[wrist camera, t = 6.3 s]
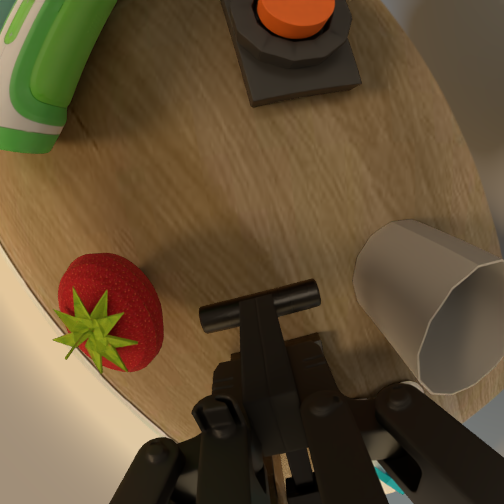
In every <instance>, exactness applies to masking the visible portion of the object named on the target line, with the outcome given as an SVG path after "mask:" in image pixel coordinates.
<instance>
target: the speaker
mask: <svg viewBox="0 0 504 504" xmlns="http://www.w3.org/2000/svg"><path fill="white" fill-rule="evenodd" d="M116 2H117V0H16V1H15V3H14V5H13V7H12V9H11V11H10V12H9V14H8V16H7V18H6V20H5V22H4V24H3V27H2V29H1V31H0V150H6V151H13V152H20V153H33V154H42V153H48V152H50V151H51V149H52V147H53V146H54V144H55V142H56V140H57V139H58V137H59V135H60V133H61V131H62V129H63V127H64V125H65V123H66V120H67V106H68V105H69V104H70V102H71V100H72V97H73V94H74V92H75V89H76V86H77V84H78V81H79V79H80V76H81V74H82V71H83V69H84V67H85V64H86V62H87V60H88V57H89V55H90V53H91V51H92V49H93V47H94V44H95V42H96V40H97V38H98V36H99V34H100V32H101V30H102V28H103V26H104V24H105V22H106V20H107V18H108V17H109V15H110V13H111V11H112V9H113V8H114V6H115V4H116Z"/></svg>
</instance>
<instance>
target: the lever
mask: <svg viewBox="0 0 504 504" xmlns="http://www.w3.org/2000/svg"><path fill="white" fill-rule="evenodd" d="M268 294H272V297H273V301H274V305H275V309H276V313H277V316H278V317H280V316H283V315H287V314H291V313H295V312H299V311H302V310H306V309H310V308H313V307H317V306H320V305H321V298H320V293H319V289H318V286H317V283H316V281H315V280H314V279H308V280H305V281H301V282H297V283H293V284H289V285H286V286H282V287H278V288H274V289H270V290H266V291H262V292H258V293H255V294H251V295H247V296H243V297H238V298H234V299H230V300H226V301H222V302H218V303H214V304H210V305H205V306H201V307H200V308H199V318H200V322H201V325H202V328H203V330H204V332H205V333H207V334H208V333H213V332H217V331H222V330H226V329H230V328H235V327H239V326H240V320H239V302H240V301H244V300H248V299H252V298H256V297H260V296H264V295H268ZM286 456H287V459H288V463H289V467H290V470H291V474H292V477H290V478H286V499H287V502H288V504H322V501H321V497H320V493H319V488H318V484H317V480H316V476H315V472H312V468H311V464H310V460H309V456H308V452H307V448H304V449H300V450H296V451H291V452H287V453H286Z"/></svg>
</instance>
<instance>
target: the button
mask: <svg viewBox="0 0 504 504" xmlns="http://www.w3.org/2000/svg"><path fill="white" fill-rule="evenodd" d="M334 8H335V0H258V5H257V12H258V16H259V18H260V20H261V22H262V23H263V25H264V26H265V27H266V28H267V29H269V30H270V31H271V32H273V33H275V34H277V35H279V36H282V37H285V38H290V39H303V38H307V37H311V36H313V35H315V34H316V33H318V32H319V31H320V30H321V29H322V27H323V26H324V25H325V23H326V22H327V20H328V19H329V18H330V16H331V15H332V13H333V11H334Z"/></svg>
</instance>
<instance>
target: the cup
mask: <svg viewBox="0 0 504 504" xmlns="http://www.w3.org/2000/svg"><path fill="white" fill-rule="evenodd" d="M353 285H354V289H355V293H356V297H357V301H358V303H359V304H360V306H361V307H362V308H363V309H364V311H365V312H366V313H367V314H368V316H369V317H370V318H371V319H372V321H373V322H374V323H375V325H376V326H377V327H378V328H379V330H380V331H381V332H382V334H383V335H384V336H385V337H386V339H387V340H388V341H389V343H390V344H391V345H392V347H393V348H394V349H395V350H396V352H397V353H398V354H399V356H400V357H401V358H402V360H403V361H404V362H405V364H406V365H407V366H408V368H409V369H410V370H411V372H412V373H413V374H414V376H415V377H416V378H417V380H418V381H419V382H420V383H421V384H422V385H423V386H424V387H425V388H426V389H427V390H428V391H429V392H430V393H431V394H434V395H453V394H456V393H458V392H460V391H463V390H465V389H467V388H469V387H472V386H474V385H475V384H476V383H478V382H479V381H480V380H481V379H482V378H483V377H485V376H486V375H487V374H488V373H489V372H490V371H492V370H493V369H494V368H495V367H496V366H497V364H498V363H499V362H500V360H501V359H502V357H503V356H504V260H503V259H501V258H499V257H497V256H495V255H493V254H491V253H489V252H487V251H485V250H482V249H480V248H478V247H476V246H474V245H472V244H469V243H467V242H465V241H463V240H460V239H458V238H456V237H454V236H451V235H449V234H447V233H444V232H442V231H440V230H437V229H435V228H433V227H430V226H428V225H425V224H423V223H421V222H418V221H416V220H413V219H408V220H400V221H392V222H390V223H388V224H387V225H385V226H384V227H383V228H381V229H380V230H378V231H377V232H375V233H374V234H372V235H371V236H370V238H369V239H368V241H367V242H366V244H365V246H364V247H363V249H362V250H361V252H360V253H359V255H358V256H357V260H356V265H355V271H354V276H353Z"/></svg>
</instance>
